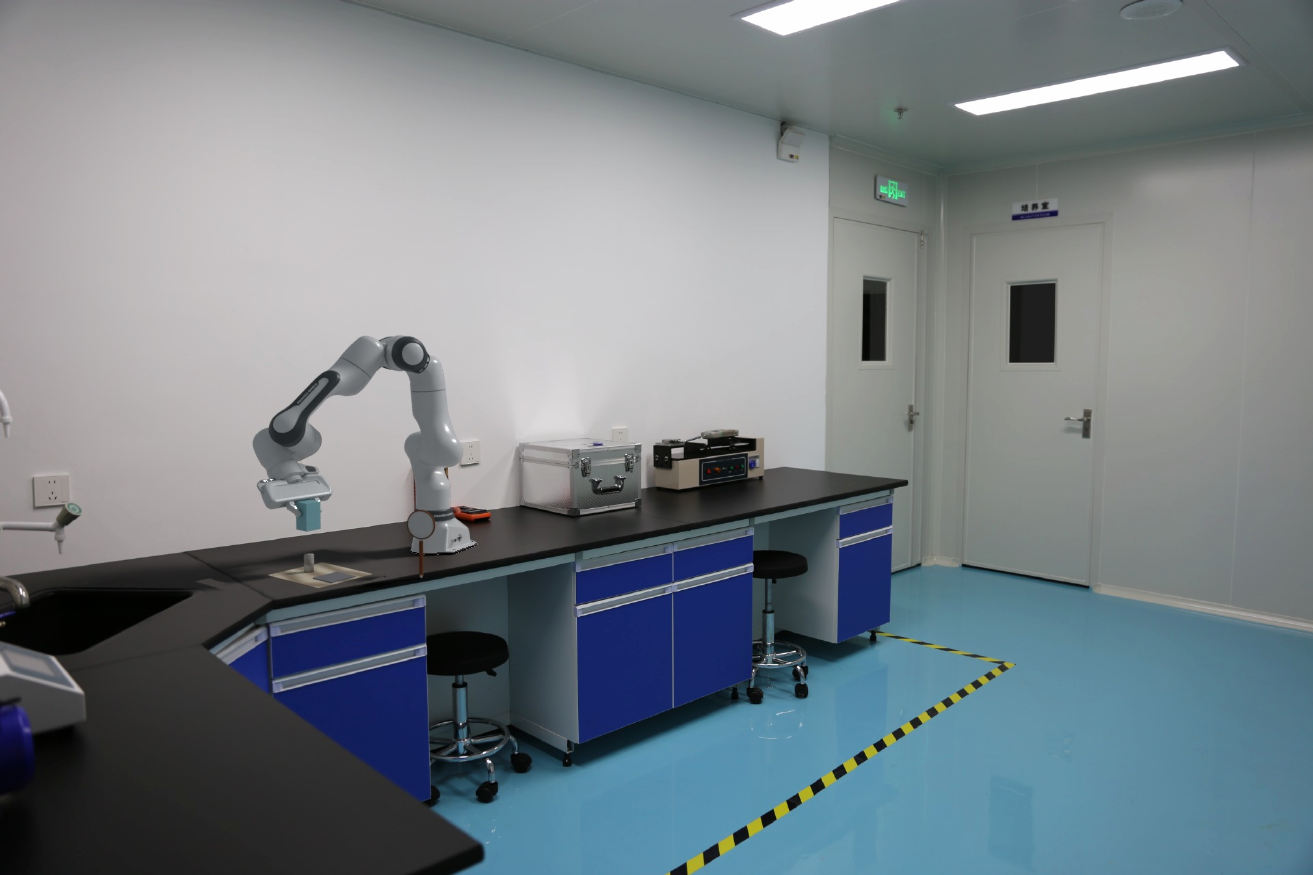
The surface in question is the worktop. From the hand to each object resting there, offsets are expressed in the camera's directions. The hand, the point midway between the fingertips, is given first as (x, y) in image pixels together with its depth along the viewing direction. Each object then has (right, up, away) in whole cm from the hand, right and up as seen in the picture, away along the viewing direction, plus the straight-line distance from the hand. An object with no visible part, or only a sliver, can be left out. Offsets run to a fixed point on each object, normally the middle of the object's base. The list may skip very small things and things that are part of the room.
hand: (309, 514), depth 239 cm
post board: (+3, -19, 0) cm, 19 cm away
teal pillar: (-1, -4, +1) cm, 4 cm away
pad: (+8, -17, -4) cm, 20 cm away
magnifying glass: (+30, -19, +4) cm, 36 cm away
